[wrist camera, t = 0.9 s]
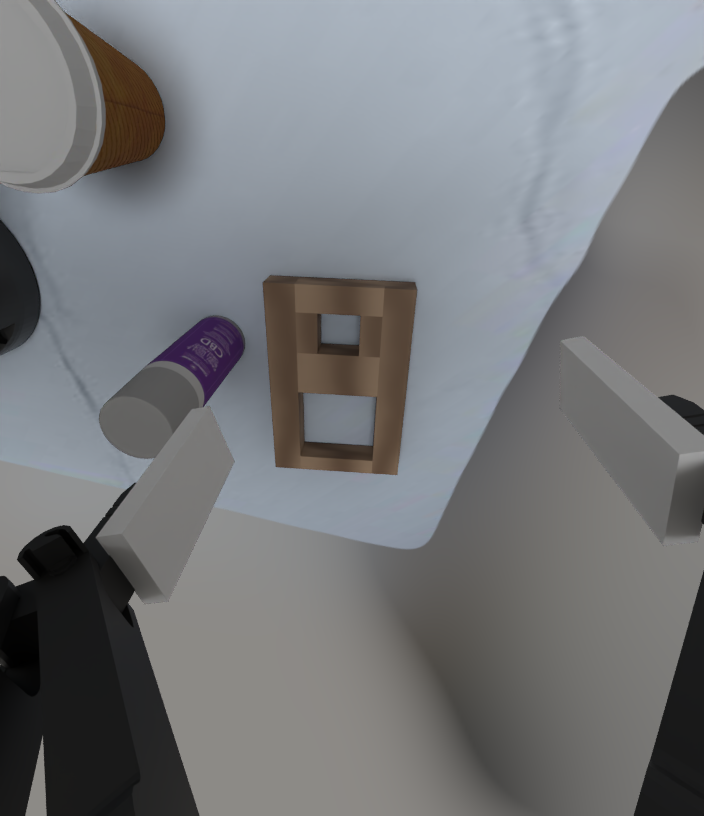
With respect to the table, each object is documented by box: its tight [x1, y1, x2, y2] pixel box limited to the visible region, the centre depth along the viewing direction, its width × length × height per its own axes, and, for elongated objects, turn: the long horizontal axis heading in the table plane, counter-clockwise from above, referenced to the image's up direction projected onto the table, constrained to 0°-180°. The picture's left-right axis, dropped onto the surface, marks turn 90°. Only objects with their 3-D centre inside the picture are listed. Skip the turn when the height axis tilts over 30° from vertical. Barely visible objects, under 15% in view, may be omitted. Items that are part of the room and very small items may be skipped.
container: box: [99, 316, 245, 459], centre depth 32 cm, size 5×5×15 cm
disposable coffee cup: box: [0, 0, 165, 193], centre depth 25 cm, size 10×10×12 cm
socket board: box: [263, 275, 417, 475], centre depth 38 cm, size 12×18×2 cm, turn 178°
